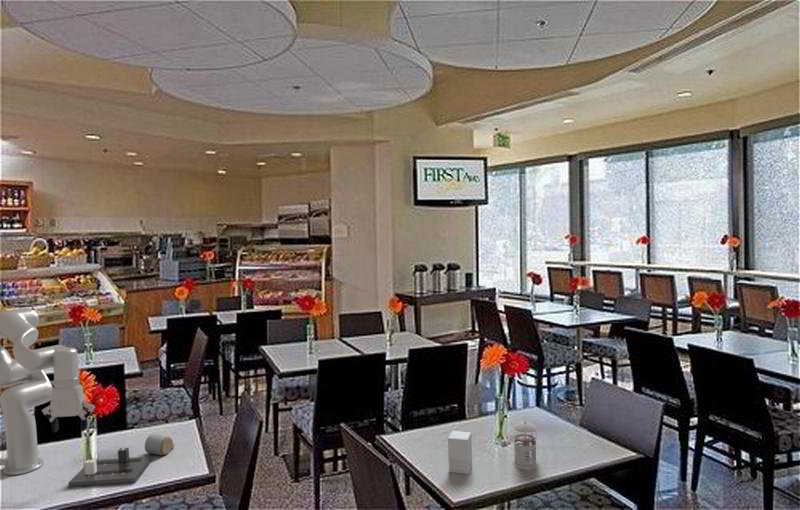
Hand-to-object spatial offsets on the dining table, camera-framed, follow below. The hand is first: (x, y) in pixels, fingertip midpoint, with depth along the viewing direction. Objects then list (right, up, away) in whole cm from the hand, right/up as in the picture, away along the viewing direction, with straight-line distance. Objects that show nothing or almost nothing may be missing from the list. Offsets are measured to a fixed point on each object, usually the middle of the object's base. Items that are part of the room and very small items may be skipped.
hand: (69, 430), depth 200 cm
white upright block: (+7, -16, +2) cm, 17 cm away
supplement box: (+139, -15, +3) cm, 140 cm away
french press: (+164, -14, +7) cm, 165 cm away
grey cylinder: (+22, -16, +24) cm, 37 cm away
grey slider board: (+12, -18, +5) cm, 22 cm away
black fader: (+14, -15, +11) cm, 23 cm away
